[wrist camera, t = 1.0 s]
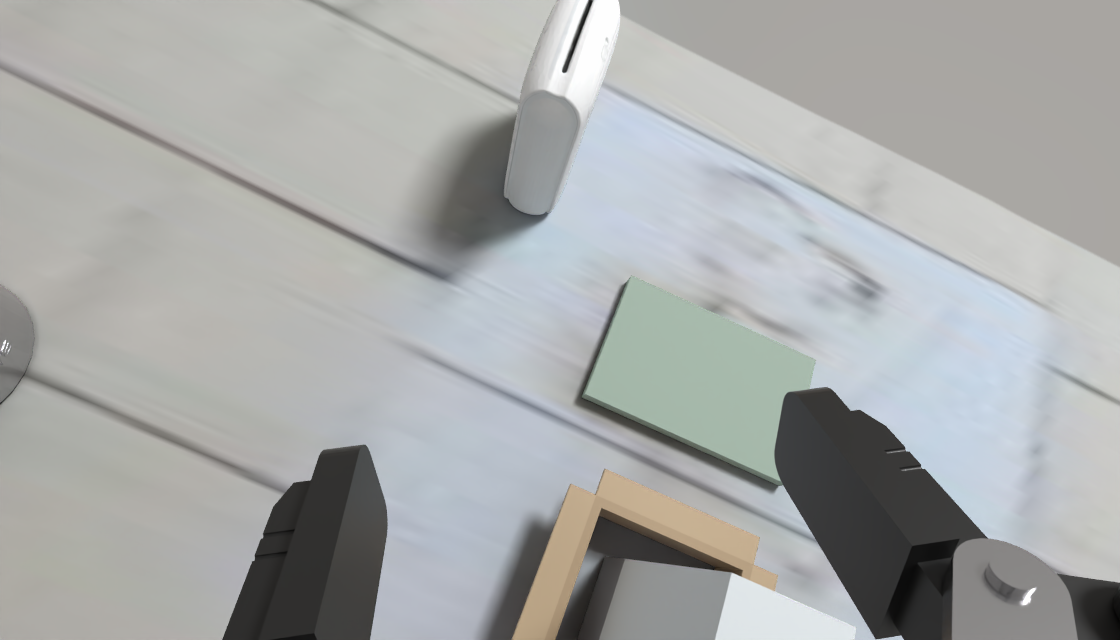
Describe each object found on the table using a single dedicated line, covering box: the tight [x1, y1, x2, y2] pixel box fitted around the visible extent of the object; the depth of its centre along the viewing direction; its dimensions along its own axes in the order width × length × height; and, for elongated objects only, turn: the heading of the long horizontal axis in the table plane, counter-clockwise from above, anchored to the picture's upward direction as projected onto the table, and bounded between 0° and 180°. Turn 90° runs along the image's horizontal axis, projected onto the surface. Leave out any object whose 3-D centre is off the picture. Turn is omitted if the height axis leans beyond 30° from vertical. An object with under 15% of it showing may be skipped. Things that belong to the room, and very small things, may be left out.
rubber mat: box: [582, 275, 816, 486], centre depth 38 cm, size 14×9×1 cm, turn 68°
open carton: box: [511, 469, 778, 640], centre depth 31 cm, size 12×12×4 cm
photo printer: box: [504, 0, 620, 215], centre depth 37 cm, size 10×4×12 cm, turn 163°
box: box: [577, 556, 856, 640], centre depth 26 cm, size 5×5×16 cm
